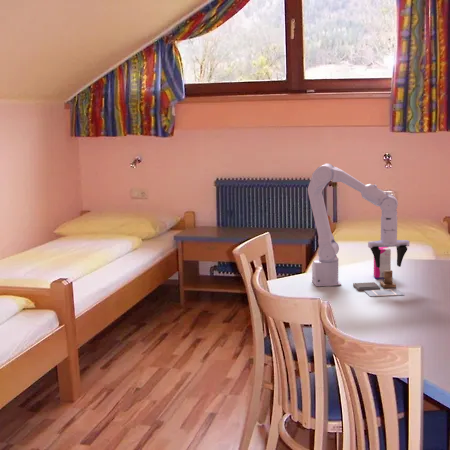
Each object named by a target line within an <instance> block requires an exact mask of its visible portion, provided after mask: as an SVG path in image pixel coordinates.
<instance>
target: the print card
mask: <svg viewBox="0 0 450 450" xmlns="http://www.w3.org/2000/svg"><path fill="white" fill-rule="evenodd" d="M364 292H365V294H366V295H367V296H369V297H370V298H376V297H375V296H380V297H397V296H399V297H400V295H403V296H405V293H403V292H402V291H400V290H399V289H397V288H393V289H392V288H390V289H380V290H371V291H364Z"/></svg>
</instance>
